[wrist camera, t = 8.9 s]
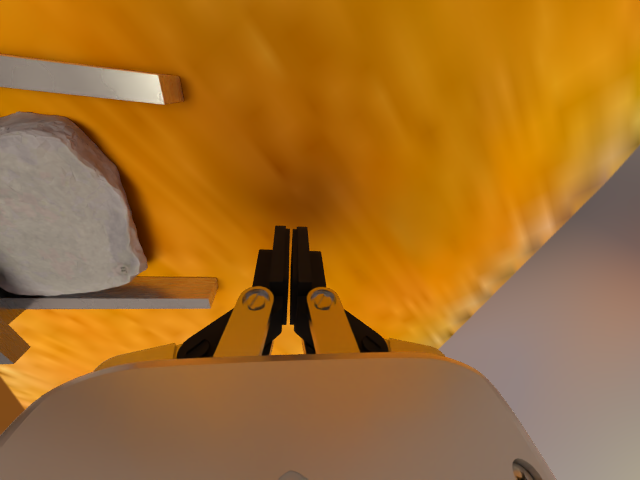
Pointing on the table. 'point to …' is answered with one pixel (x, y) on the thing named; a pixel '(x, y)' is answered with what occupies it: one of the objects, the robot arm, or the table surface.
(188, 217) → the table surface
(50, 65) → the steel lip bracket
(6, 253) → the stone block
